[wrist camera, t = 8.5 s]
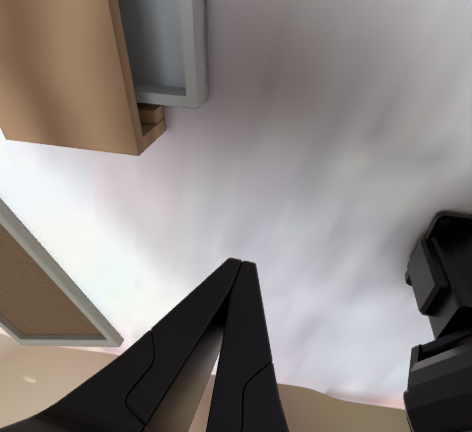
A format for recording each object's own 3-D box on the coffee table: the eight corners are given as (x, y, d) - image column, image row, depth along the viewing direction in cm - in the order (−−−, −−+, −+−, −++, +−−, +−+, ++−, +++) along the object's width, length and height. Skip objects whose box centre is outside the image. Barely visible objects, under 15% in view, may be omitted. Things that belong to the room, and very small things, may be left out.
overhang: (125, -173, 13) (64, -217, 10) (165, 130, 21) (138, 155, 18) (-52, -159, 14) (-149, -193, 12) (48, 118, 22) (5, 139, 19)
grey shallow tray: (202, -87, 14) (187, -94, 12) (208, 97, 19) (197, 108, 17) (11, -86, 16) (-24, -93, 14) (62, 83, 21) (40, 91, 19)
